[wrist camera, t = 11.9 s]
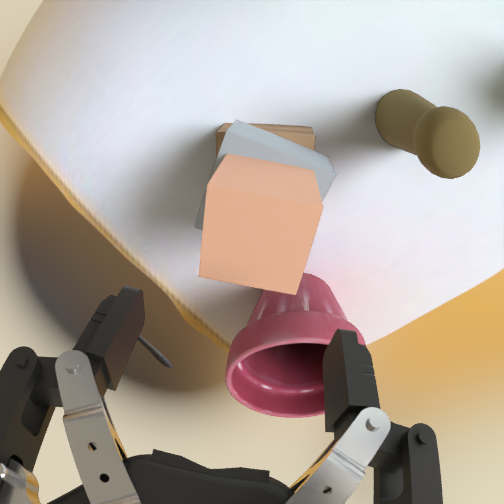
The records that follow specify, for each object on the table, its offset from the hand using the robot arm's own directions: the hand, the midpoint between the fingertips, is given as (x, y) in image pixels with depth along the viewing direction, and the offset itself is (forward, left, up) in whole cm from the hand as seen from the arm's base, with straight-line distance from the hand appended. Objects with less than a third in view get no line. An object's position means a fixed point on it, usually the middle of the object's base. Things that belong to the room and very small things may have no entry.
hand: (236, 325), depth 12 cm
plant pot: (+16, +7, -21) cm, 27 cm away
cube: (0, 0, -12) cm, 12 cm away
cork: (-8, +12, -21) cm, 26 cm away
